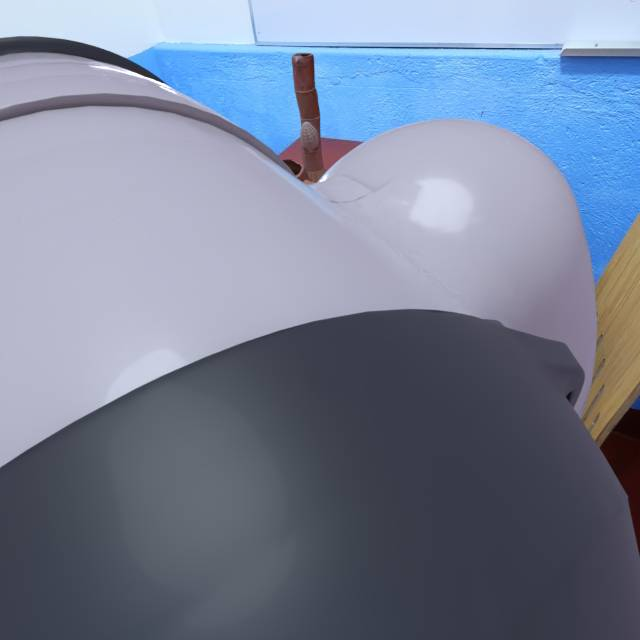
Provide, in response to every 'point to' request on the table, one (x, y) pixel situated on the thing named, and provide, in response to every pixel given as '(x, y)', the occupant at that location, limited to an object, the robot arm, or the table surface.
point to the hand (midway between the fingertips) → (302, 443)
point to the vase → (308, 114)
